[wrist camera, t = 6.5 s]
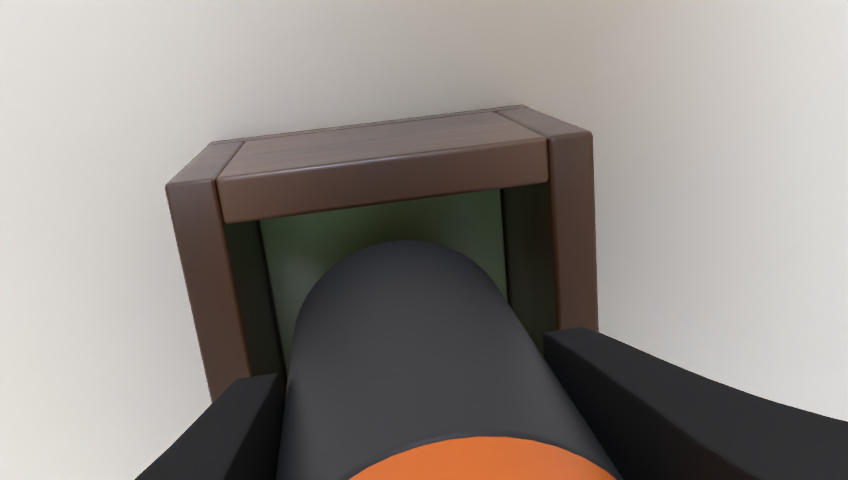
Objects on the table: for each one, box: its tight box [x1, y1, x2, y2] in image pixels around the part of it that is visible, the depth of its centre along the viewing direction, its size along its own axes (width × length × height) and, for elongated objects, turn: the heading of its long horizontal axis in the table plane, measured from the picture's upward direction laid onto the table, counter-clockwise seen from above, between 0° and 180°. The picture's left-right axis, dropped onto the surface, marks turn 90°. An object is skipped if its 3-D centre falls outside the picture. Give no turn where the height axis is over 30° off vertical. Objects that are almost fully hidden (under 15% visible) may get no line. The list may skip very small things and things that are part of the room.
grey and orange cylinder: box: [276, 240, 623, 480], centre depth 9 cm, size 4×4×8 cm
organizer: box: [165, 105, 598, 404], centre depth 15 cm, size 7×13×4 cm, turn 6°
